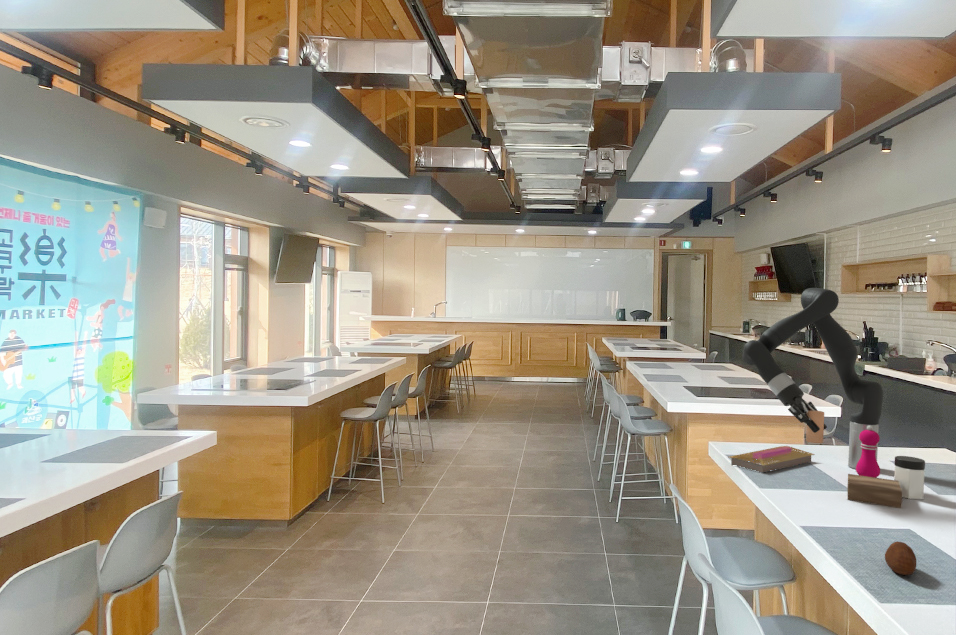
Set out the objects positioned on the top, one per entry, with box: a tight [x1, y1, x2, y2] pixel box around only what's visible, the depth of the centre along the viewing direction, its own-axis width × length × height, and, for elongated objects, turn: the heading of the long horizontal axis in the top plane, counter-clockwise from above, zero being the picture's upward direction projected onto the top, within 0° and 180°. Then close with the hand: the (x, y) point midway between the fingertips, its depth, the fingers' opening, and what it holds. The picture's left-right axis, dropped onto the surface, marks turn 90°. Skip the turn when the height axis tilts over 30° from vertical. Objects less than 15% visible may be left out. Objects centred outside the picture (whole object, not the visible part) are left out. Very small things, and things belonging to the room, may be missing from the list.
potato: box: [884, 541, 917, 576], centre depth 143 cm, size 6×12×6 cm, turn 158°
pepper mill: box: [855, 426, 881, 478], centre depth 215 cm, size 7×7×20 cm
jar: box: [893, 455, 926, 500], centre depth 202 cm, size 9×8×12 cm
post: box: [805, 410, 825, 444], centre depth 206 cm, size 5×5×10 cm
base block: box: [846, 473, 903, 509], centre depth 198 cm, size 14×14×5 cm
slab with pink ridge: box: [728, 445, 816, 473], centre depth 239 cm, size 35×14×6 cm, turn 124°
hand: (820, 430), depth 205 cm, fingers closed on post, 5 cm apart
